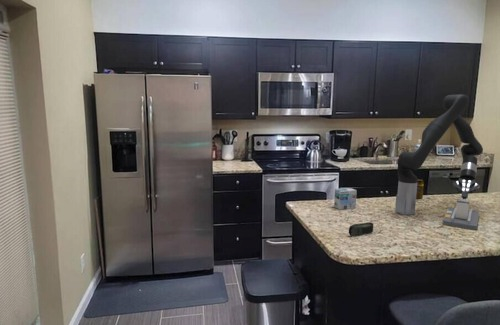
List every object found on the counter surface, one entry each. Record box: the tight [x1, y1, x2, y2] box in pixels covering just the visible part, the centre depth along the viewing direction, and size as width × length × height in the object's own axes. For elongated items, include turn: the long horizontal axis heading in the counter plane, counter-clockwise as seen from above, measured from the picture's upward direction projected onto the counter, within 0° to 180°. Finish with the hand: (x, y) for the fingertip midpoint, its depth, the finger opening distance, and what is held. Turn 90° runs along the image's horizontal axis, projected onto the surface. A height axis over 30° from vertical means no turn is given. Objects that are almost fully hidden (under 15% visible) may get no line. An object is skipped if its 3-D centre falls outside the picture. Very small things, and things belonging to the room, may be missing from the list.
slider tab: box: [455, 198, 471, 219], centre depth 172 cm, size 4×5×9 cm
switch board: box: [442, 206, 480, 231], centre depth 176 cm, size 28×14×4 cm, turn 145°
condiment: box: [416, 178, 425, 201], centre depth 217 cm, size 7×8×12 cm
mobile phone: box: [347, 221, 374, 238], centre depth 155 cm, size 5×3×15 cm
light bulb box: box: [333, 187, 357, 211], centre depth 196 cm, size 11×7×11 cm, turn 105°
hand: (464, 198), depth 183 cm, fingers closed
